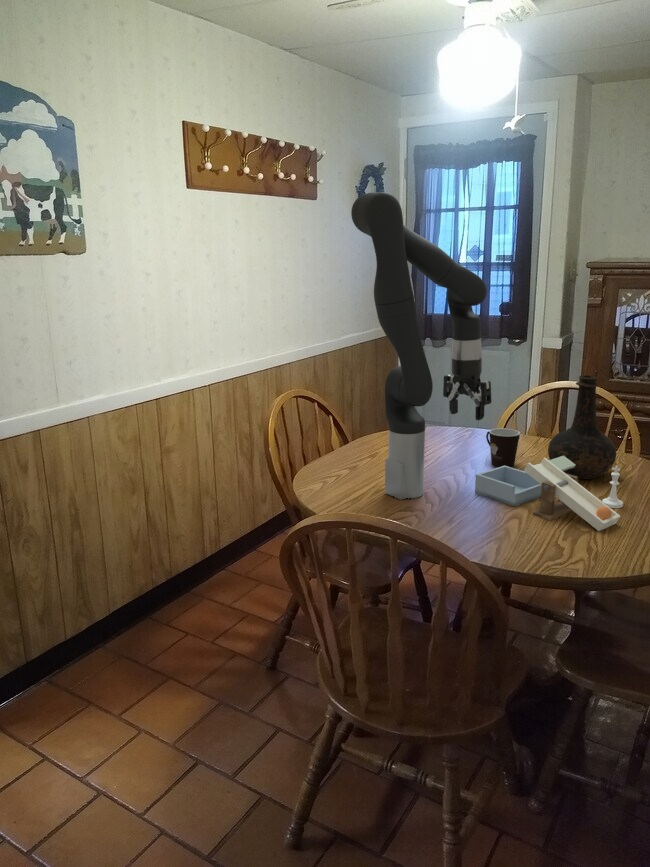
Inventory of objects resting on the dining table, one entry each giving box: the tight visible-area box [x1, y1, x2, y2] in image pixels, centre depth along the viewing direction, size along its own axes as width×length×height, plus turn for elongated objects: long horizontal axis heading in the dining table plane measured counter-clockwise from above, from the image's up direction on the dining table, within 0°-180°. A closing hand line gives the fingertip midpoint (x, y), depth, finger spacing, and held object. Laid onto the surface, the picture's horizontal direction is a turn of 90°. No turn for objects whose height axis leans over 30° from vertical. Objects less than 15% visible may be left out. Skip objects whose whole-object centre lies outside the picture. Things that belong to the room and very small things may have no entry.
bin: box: [474, 466, 542, 507], centre depth 171 cm, size 12×13×5 cm
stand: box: [532, 474, 579, 521], centre depth 160 cm, size 5×13×8 cm, turn 127°
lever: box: [523, 456, 621, 532], centre depth 160 cm, size 23×16×2 cm
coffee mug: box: [485, 427, 521, 468], centre depth 195 cm, size 12×9×10 cm
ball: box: [596, 506, 612, 520], centre depth 151 cm, size 3×3×3 cm
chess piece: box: [601, 465, 624, 509], centre depth 163 cm, size 5×5×10 cm
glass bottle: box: [547, 374, 617, 480], centre depth 183 cm, size 18×18×28 cm
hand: (466, 416), depth 175 cm, fingers open, 8 cm apart
